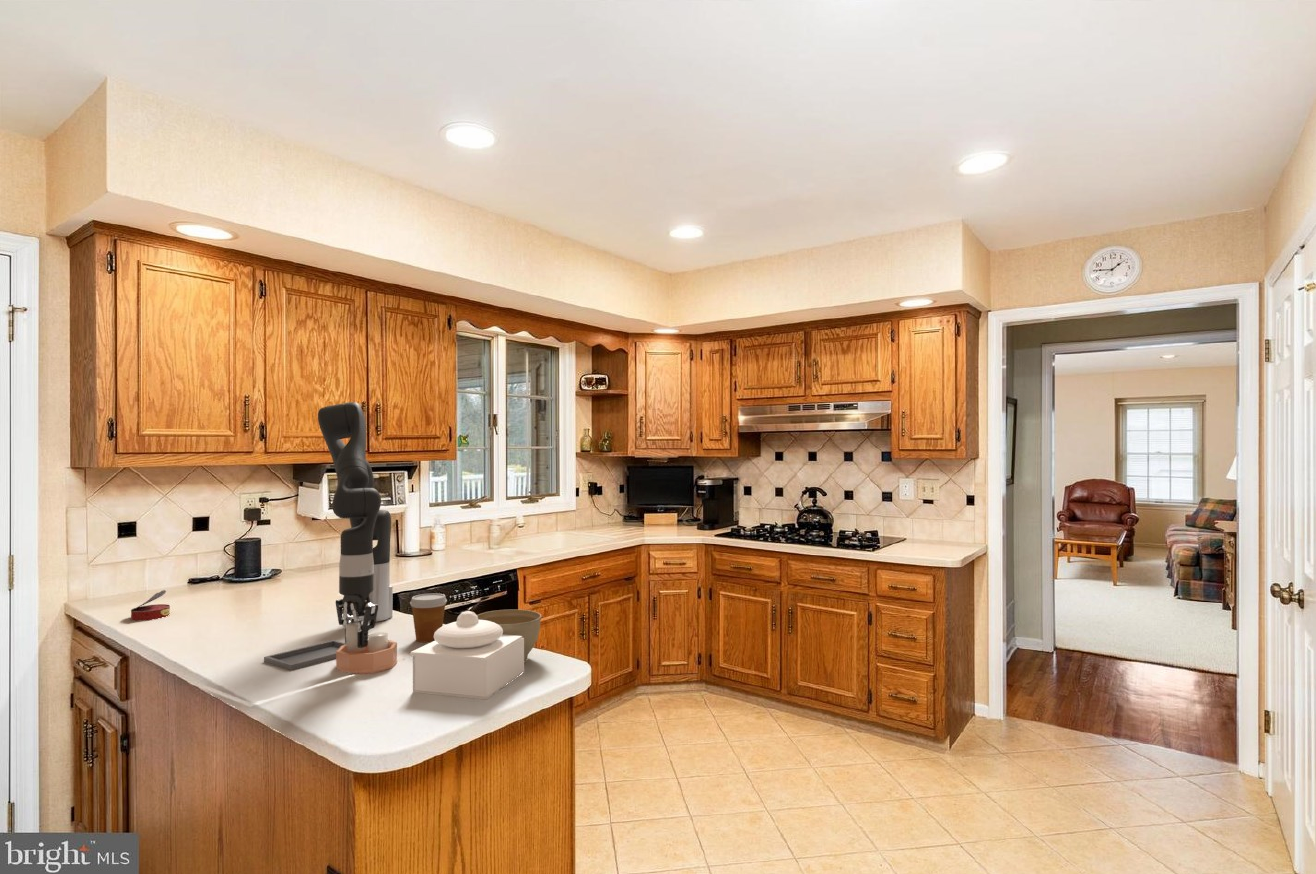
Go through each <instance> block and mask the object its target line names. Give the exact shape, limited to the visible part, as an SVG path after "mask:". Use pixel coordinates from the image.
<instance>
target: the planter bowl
mask: <svg viewBox="0 0 1316 874" xmlns="http://www.w3.org/2000/svg"><path fill="white" fill-rule="evenodd" d="M476 615H477V616H478V620H486V621H491V622H494V623H496V624H498V625H500V626H501V627H502V629H503V634H502V635H515V636H522V638H524V663H525V662H526V661H527V660H528V657H529V654H530V652H532V650H533V648H534V647H535V645H536V642H537V640H538V637H539V635H540V630H541V621H542V614H541V613H540V612H537V611H534V610H528V609H527V610H526V609H499V610H491V611H485V612H482V613H479V614H476Z"/></svg>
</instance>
